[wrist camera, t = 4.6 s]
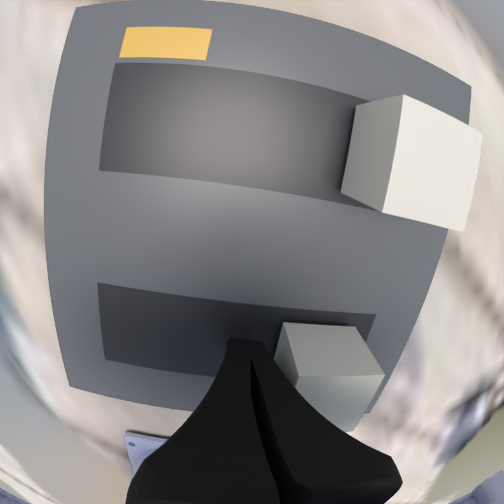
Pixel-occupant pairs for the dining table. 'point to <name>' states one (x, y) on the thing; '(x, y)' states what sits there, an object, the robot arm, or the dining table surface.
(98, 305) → the switch box
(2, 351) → the dining table surface
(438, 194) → the tab near
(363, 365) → the tab far
